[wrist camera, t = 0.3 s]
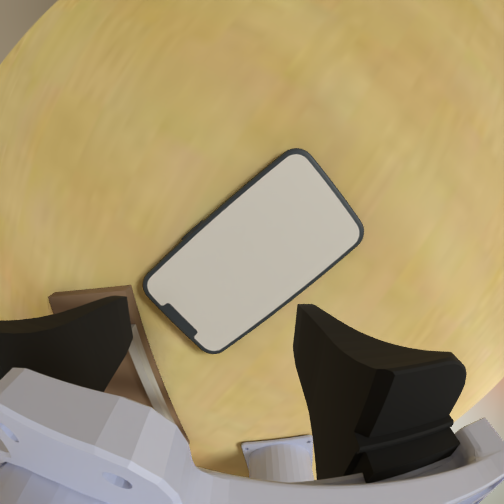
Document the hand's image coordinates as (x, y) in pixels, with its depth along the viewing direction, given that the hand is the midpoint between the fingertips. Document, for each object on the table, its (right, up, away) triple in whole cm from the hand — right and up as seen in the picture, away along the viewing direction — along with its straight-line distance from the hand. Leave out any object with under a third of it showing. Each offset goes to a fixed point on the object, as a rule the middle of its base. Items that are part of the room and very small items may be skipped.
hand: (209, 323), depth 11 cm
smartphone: (+2, +3, +10) cm, 11 cm away
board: (-11, -10, +13) cm, 20 cm away
